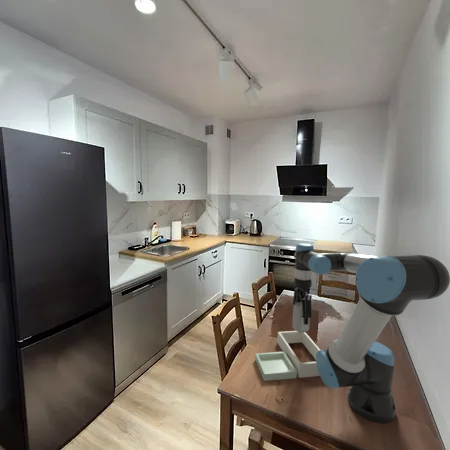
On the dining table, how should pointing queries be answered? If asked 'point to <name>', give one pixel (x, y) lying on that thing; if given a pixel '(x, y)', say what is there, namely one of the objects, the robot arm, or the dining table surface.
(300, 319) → the can
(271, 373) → the tray
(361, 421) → the dining table surface
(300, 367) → the white rectangular frame
